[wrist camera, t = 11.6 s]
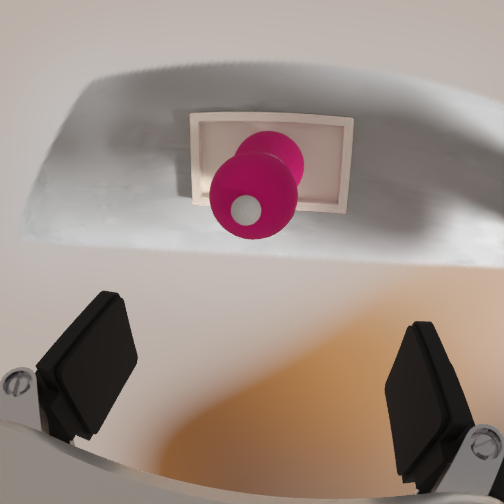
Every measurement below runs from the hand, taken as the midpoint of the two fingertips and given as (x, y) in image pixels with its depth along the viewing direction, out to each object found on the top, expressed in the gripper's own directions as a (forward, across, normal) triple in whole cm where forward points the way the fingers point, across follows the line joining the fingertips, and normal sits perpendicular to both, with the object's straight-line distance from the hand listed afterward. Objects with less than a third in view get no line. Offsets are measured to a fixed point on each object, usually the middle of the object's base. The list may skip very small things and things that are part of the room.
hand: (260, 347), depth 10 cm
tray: (+30, +2, -1) cm, 30 cm away
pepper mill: (+30, +2, -1) cm, 30 cm away
